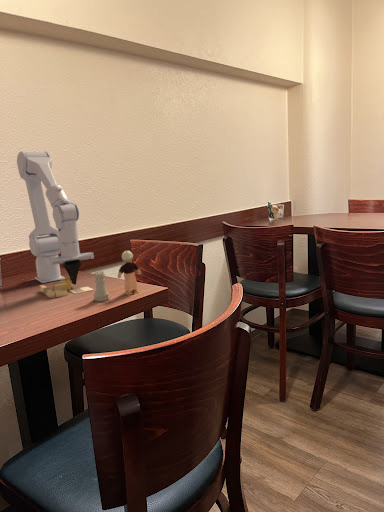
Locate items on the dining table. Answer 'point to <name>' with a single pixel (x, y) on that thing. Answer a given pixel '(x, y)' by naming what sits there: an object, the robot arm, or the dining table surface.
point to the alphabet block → (67, 282)
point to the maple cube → (59, 289)
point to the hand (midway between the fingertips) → (74, 283)
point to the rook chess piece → (100, 288)
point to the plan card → (81, 290)
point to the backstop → (47, 291)
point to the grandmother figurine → (129, 273)
